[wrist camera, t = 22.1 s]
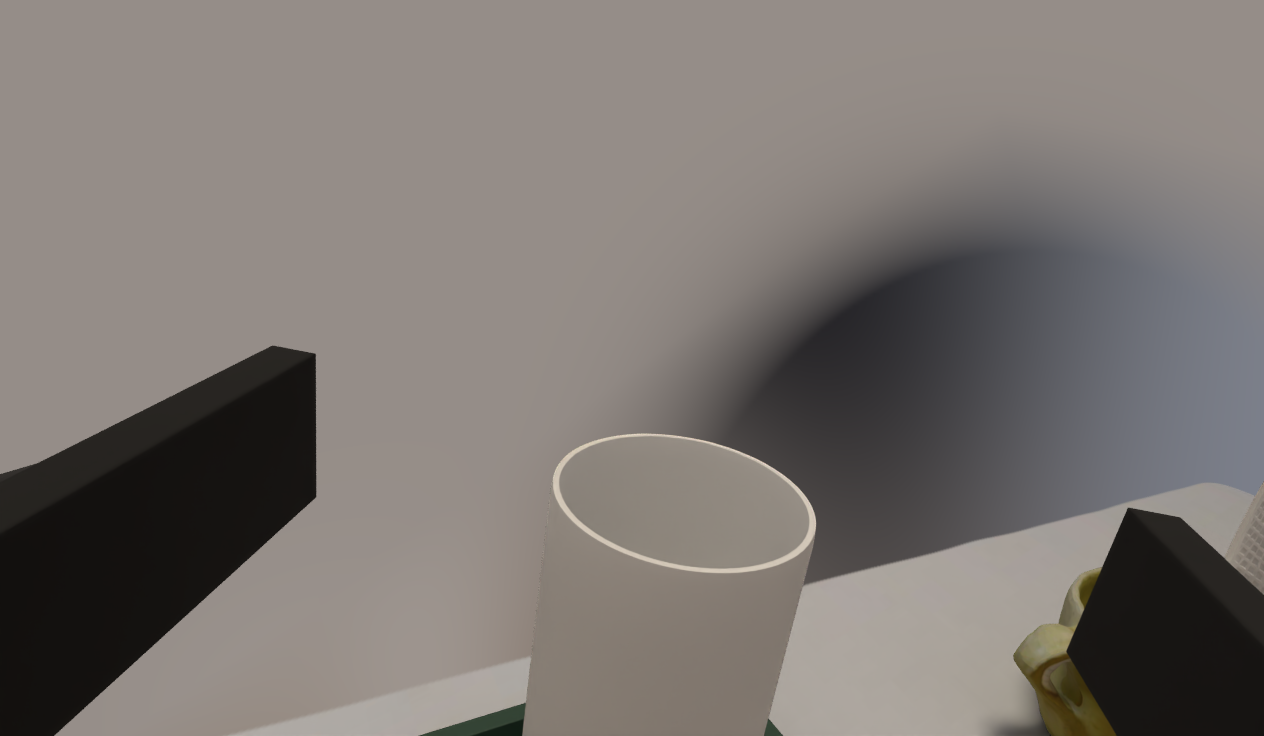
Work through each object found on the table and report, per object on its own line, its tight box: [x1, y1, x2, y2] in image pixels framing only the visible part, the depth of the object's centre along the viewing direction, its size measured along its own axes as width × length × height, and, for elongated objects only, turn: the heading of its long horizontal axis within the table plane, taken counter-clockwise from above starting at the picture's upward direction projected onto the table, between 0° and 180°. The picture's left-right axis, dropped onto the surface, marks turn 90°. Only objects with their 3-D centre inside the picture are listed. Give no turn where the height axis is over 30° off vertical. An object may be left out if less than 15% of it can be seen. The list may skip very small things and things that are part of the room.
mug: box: [1013, 567, 1117, 736], centre depth 37 cm, size 12×10×10 cm
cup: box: [522, 434, 816, 736], centre depth 26 cm, size 8×8×16 cm
